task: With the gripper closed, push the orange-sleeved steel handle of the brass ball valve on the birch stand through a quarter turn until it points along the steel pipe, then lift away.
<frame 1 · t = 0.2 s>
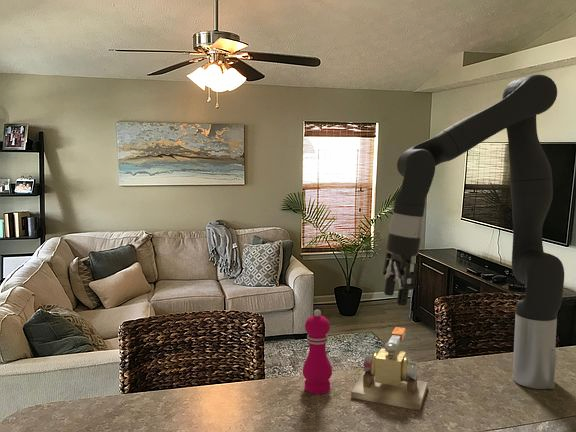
hand: (394, 299, 120), 22 cm above the kitchen counter, tool pointing down, fingers open, 8 cm apart
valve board: (390, 392, 120), on the kitchen counter
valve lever: (395, 339, 124), point 11 cm above the kitchen counter, hinge at 0.0°
pepper mill: (317, 389, 123), on the kitchen counter
ball valve: (390, 365, 120), point 7 cm above the kitchen counter
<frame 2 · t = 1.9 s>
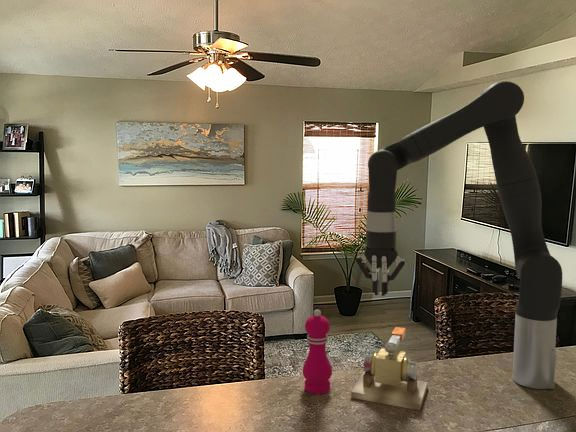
hand: (380, 294, 130), 21 cm above the kitchen counter, tool pointing down, fingers closed
nothing on the kitchen counter moved.
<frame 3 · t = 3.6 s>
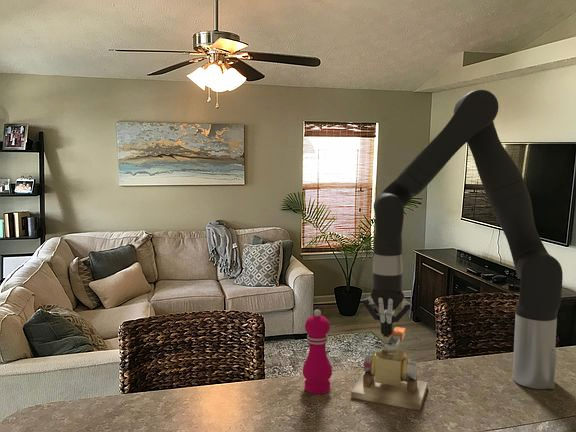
hand: (386, 335, 130), 10 cm above the kitchen counter, tool pointing down, fingers closed
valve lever: (395, 339, 124), point 11 cm above the kitchen counter, hinge at 0.0°, touching gripper
everything else where it was.
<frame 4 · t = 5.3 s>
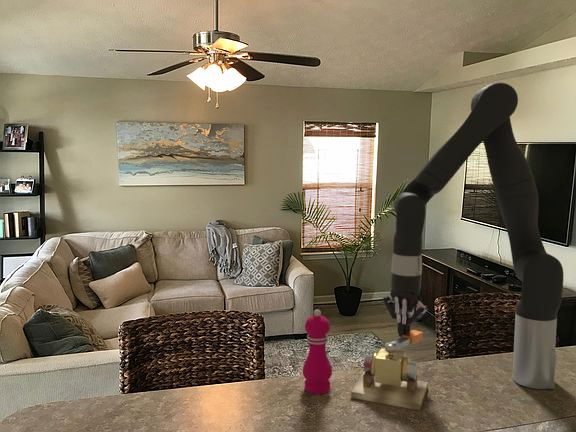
hand: (403, 336, 129), 10 cm above the kitchen counter, tool pointing down, fingers closed
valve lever: (403, 341, 123), point 11 cm above the kitchen counter, hinge at 22.1°, touching gripper
everything else where it was.
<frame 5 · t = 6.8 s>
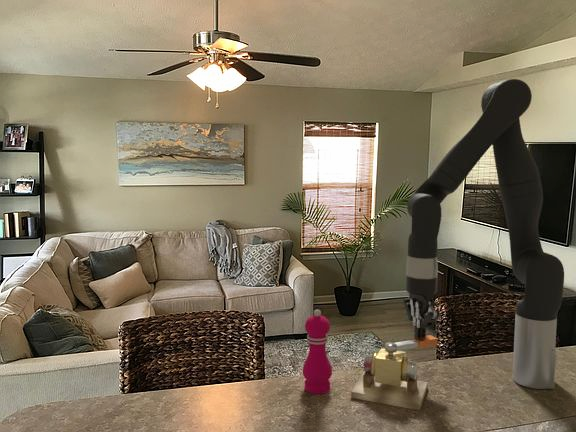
hand: (419, 340, 126), 10 cm above the kitchen counter, tool pointing down, fingers closed
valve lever: (410, 344, 121), point 11 cm above the kitchen counter, hinge at 45.7°, touching gripper
everything else where it was.
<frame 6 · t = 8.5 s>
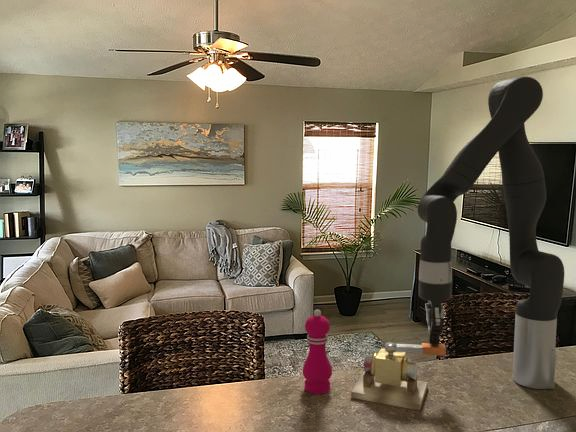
hand: (433, 347, 121), 10 cm above the kitchen counter, tool pointing down, fingers closed
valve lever: (414, 348, 119), point 11 cm above the kitchen counter, hinge at 73.5°, touching gripper
everything else where it was.
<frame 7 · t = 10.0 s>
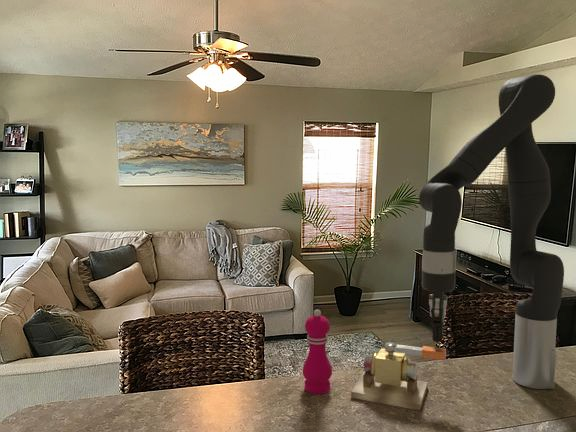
hand: (437, 340, 118), 13 cm above the kitchen counter, tool pointing down, fingers closed
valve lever: (414, 350, 117), point 11 cm above the kitchen counter, hinge at 87.9°
everything else where it was.
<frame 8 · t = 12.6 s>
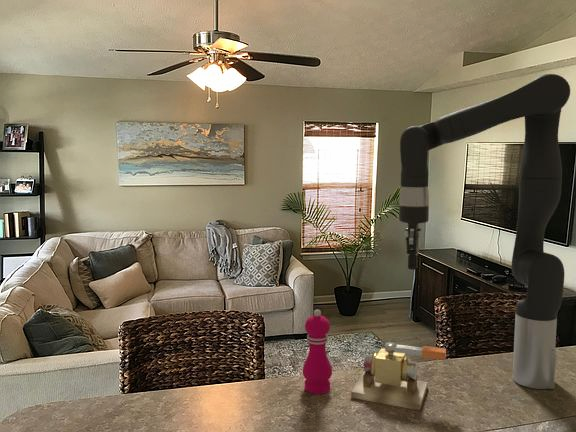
hand: (412, 268, 133), 27 cm above the kitchen counter, tool pointing down, fingers closed
nothing on the kitchen counter moved.
at the end: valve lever at +88° (first picture: +0°); pepper mill moved 0.2 cm from its start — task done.
